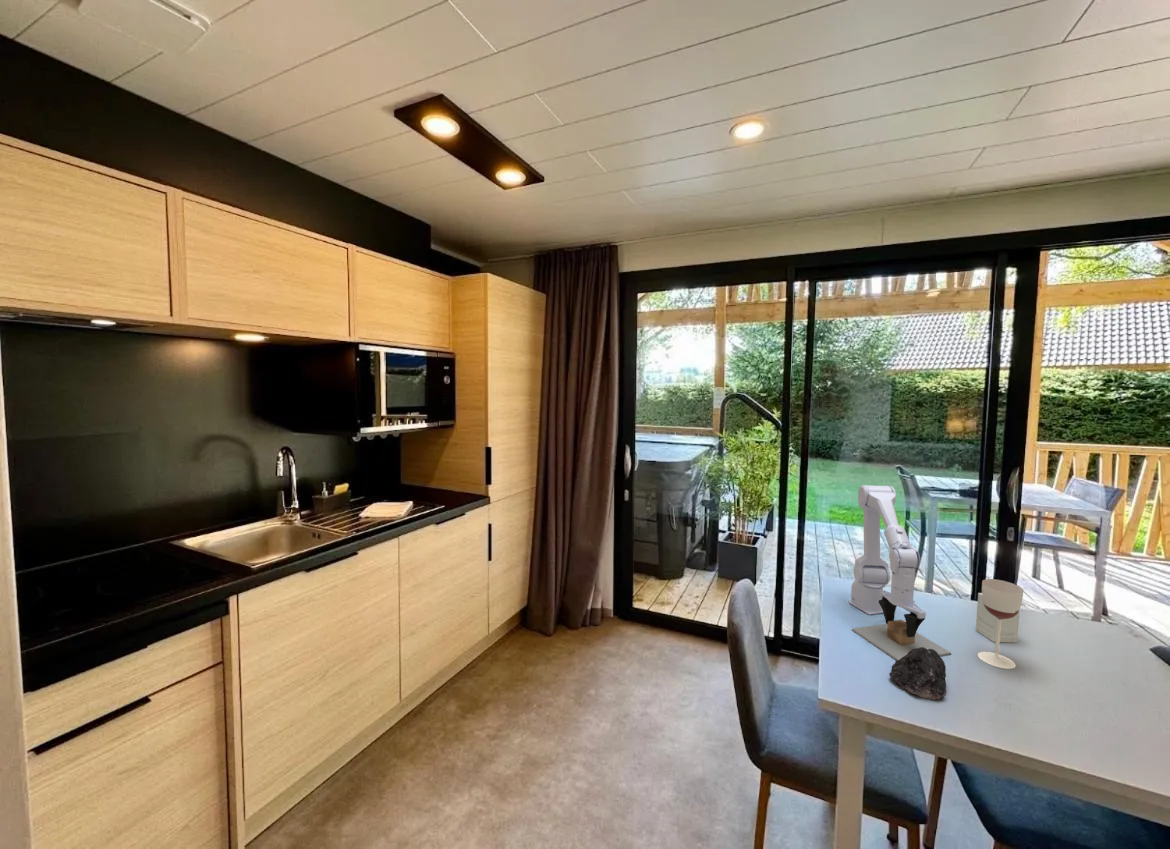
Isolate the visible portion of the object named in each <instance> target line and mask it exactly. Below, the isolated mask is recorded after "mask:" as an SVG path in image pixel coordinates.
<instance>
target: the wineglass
mask: <svg viewBox="0 0 1170 849" xmlns="http://www.w3.org/2000/svg"><path fill="white" fill-rule="evenodd" d="M981 593H982V600H983V603H984V606H985V608H986V609H987V611H988V612H990V613H991V614H992V615H993V616H995V617H997V618H998V622H997V634H996V642H995V646H994V647H995V648H994V652H991V651H981V652H978V653H977V657H978V658H979V659H980V660H981V661H982V662H984V663H985V664H989V665H991V666H993V667H996V668H997V667H998V668H1000V669H1007V670H1010V669H1012V670H1013V669H1015V668H1016V663H1015V661H1013V660H1011V659H1010V658H1008V657H1006V656H1005V655H1002V654H1000V643H1001V642H1000V633H1001V621H1002V619H1009V618H1013V617H1015V616H1016V615H1017V614H1018V612H1019V613H1020V611H1021V607H1022V603H1023V597H1024V589H1023V588H1022V587H1020V586H1019V585H1017V584H1014V583H1012V582H1009V581H1006V580H1001V579H996V578H995V579H994V578H986V579H982V582H981ZM1019 610H1020V611H1019Z"/></svg>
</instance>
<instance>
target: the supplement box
mask: <svg viewBox="0 0 1170 849" xmlns="http://www.w3.org/2000/svg"><path fill="white" fill-rule="evenodd" d="M1020 611H1021V609H1020V610H1019V612H1018V614H1017V615H1016V616H1015V617H1013V618H1009V619H1002V621H1001V633H1000V643H1018V639H1019V638H1018V637H1019V623H1020V622H1019V621H1020ZM975 620H976V621H975V622H976V623H975V631H976V632H977V633H979V634H980V635H982V636H984V637H985V638H986V639H988V640H990V641H991V642H993V643H996V634H997V622H998V618H997V617H995V616H993V615H992V614H991V613H990V612H988V611H987V609H986V608H985V606H984V603H983V600H982V592H978V593H977V604H976V619H975Z"/></svg>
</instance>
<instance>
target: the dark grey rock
mask: <svg viewBox="0 0 1170 849" xmlns="http://www.w3.org/2000/svg"><path fill="white" fill-rule="evenodd" d="M946 668H947V667H946V663H945V661H944V660H943V658H942V656H939V654H938V653H937V652H936V651H935V650H933V649H928V650H927V649H926V648H924V647H920V648H916V649H912V650H910V651H909V652H908V654H907V655H905V656H904V657H902V658H901V659H900V660H895V661H894V663H893V664H892V665H891V669H890V672H889V677H890V679H891V680H892V681H894V682H895V683H897V684H898V685H899V686H900V687H902V688H904V689H905V690H906V691H907V692H908V693H910V694H914V695H916V696H918V697H920V698H922V699H929V700H933V701H935V700H940V699H941V698H943V697H944V696H945V695H946V693H947V682H946V677H947V673H946V671H947V670H946Z"/></svg>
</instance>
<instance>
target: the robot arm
mask: <svg viewBox="0 0 1170 849" xmlns="http://www.w3.org/2000/svg"><path fill="white" fill-rule="evenodd" d="M896 492H897V491H896V490H895V488H894V487H893V485H871V484H870V485H867V484H861V486H860V487H859V488H858V492H857V494H858V495H857V498H858V499H857V500H858V502H857V503H858V507H859V508H861V509H862V514H863V521H862V522H863V555H861V556H859V557H857V558H856V559H855V561H854V567H853V577H854V579H855V580H854V581H853V582H852V584H851V592H850V594H851V595H850V600H849V601H848V603H849V604H850V605H853V606H854V607H856V608H858V609H859V611H860V610H861V612H864V613H866V614H867V615H870V616H871V615H878V614H883V615H884V620H885V624H888V621H894V620H895V614H896V610H897V607H899V608H900V609H901V608H902V609H903V610H905V611H906V612H909V613H905V614H903V617H904V621H905V622H906V625H907V636H908V637H914V636H915V634H916V632H918V629H919V627H920V625H921V624H922V623H924V621H925V620H926V616H927V613H926V611H925V610H923V609H922V608H921V607H919V606H918V605H917V604H916V603H915V602H916V601H915V600H914V596H915V595H914V594H915V592H914V591H915V578H916V569H919V567H920V565H921V556H920V553H919V551H918V549H917V548H915V546H914V545H912V544H911V542H910V540H909V537H908V534H907V532H906V529H905V528H904V527H903V526H900V524H899V521H898V517H897V513H896V510H895V507H894V506H895V504H896V500H897V493H896ZM880 517H881V518H880ZM880 519H882V521H883V524H884V526H885V529H884V531H883V533H884V537H885V539H886V541H887V545H888V548H889V553H888V557H889V558H888V559H889V563H890V566H889V563H888V562H887V561H886V560H884V559H883V558H882V557H881V524H880V523H881V520H880ZM889 568H890V569H889ZM890 571H891V573H890ZM890 580H891V586H890V592H889V591H887V590H884V588H886V585H889V583H890Z"/></svg>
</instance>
